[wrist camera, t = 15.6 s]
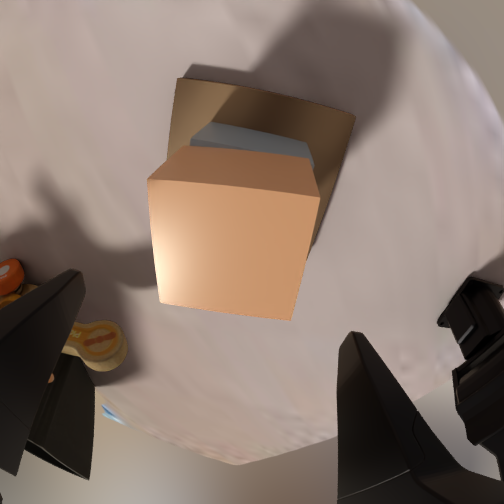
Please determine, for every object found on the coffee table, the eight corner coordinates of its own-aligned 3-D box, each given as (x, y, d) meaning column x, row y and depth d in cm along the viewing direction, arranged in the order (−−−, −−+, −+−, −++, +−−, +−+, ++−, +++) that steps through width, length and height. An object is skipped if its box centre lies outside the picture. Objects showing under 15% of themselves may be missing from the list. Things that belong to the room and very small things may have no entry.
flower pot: (88, 337, 33) (37, 448, 20) (117, 401, 44) (90, 483, 30) (-4, 302, 33) (-56, 382, 19) (36, 370, 44) (4, 437, 30)
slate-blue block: (306, 142, 17) (314, 165, 14) (282, 224, 21) (282, 264, 17) (210, 121, 17) (190, 138, 13) (197, 206, 21) (179, 241, 17)
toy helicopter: (-1, 255, 27) (-64, 332, 16) (135, 270, 26) (68, 401, 15) (23, 304, 32) (-26, 379, 21) (153, 330, 31) (112, 444, 19)
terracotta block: (309, 158, 14) (320, 197, 10) (289, 261, 17) (290, 320, 13) (183, 145, 14) (147, 178, 10) (184, 248, 17) (160, 302, 13)
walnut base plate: (352, 114, 17) (356, 116, 16) (305, 252, 23) (306, 260, 22) (182, 77, 16) (177, 78, 16) (166, 222, 23) (161, 229, 22)
